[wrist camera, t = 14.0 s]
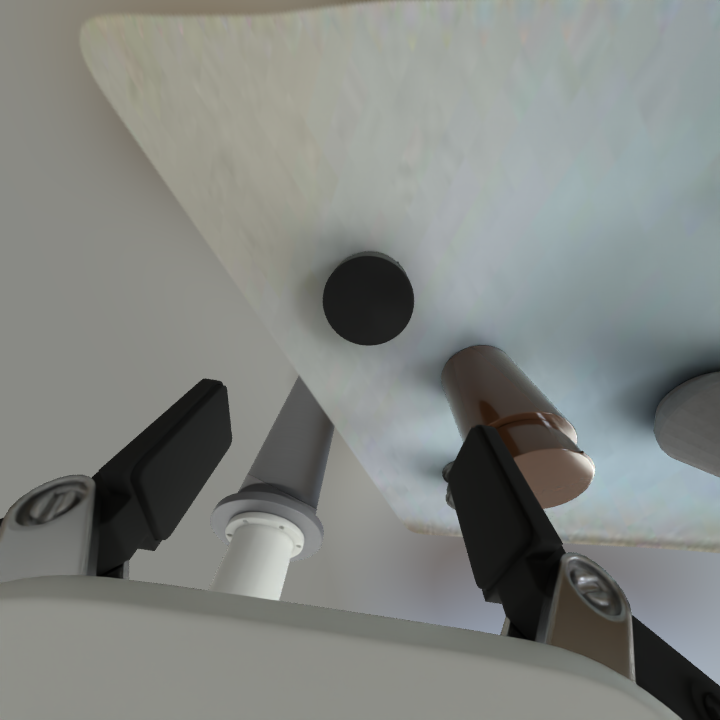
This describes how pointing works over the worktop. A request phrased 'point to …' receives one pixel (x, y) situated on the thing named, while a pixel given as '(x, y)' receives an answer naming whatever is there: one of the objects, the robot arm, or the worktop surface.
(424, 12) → the worktop surface
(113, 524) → the robot arm
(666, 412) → the coffee pot
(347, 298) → the jar lid
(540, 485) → the jar
